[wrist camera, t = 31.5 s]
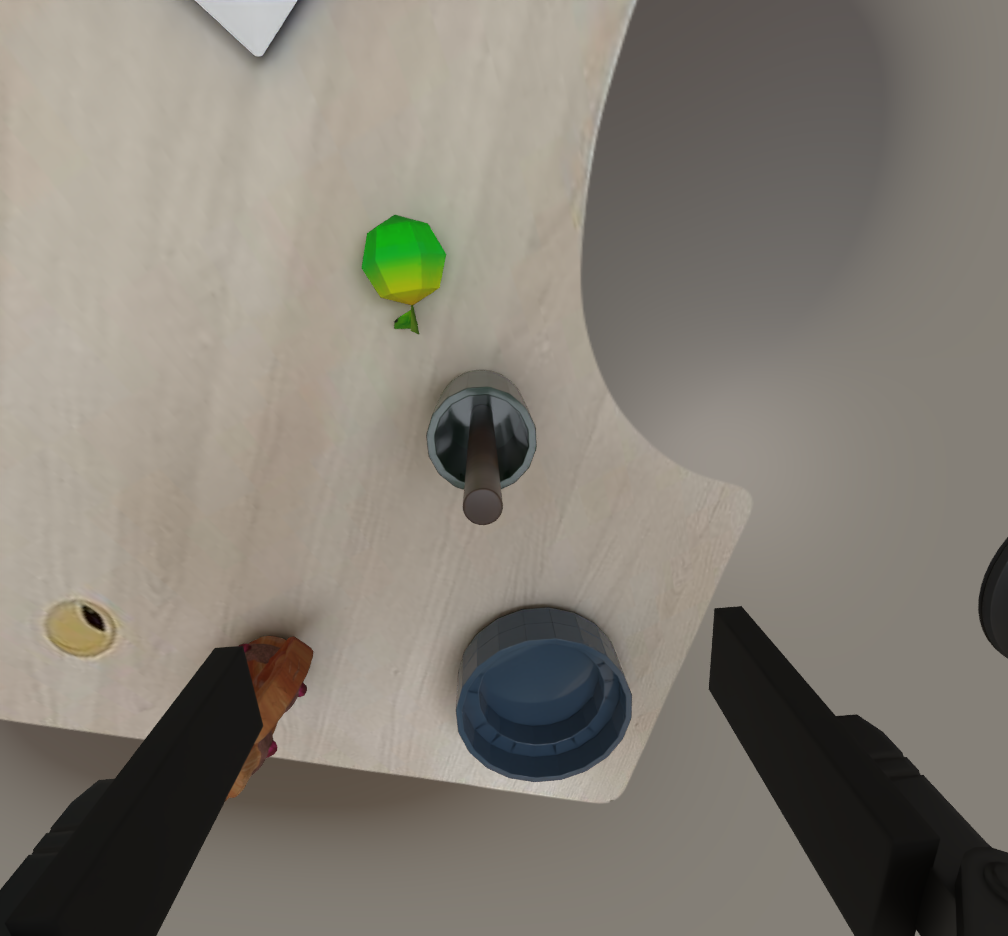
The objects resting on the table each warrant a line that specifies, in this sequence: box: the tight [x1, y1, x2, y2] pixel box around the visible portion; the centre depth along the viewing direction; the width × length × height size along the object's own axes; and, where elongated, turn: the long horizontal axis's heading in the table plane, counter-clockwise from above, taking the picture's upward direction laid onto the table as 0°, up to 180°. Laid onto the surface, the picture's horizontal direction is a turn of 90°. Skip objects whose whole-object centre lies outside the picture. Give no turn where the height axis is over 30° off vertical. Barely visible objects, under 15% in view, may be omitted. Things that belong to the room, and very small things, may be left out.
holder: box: [426, 370, 537, 490], centre depth 43 cm, size 8×8×10 cm
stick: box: [463, 405, 503, 525], centre depth 36 cm, size 2×2×22 cm
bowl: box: [456, 608, 632, 782], centre depth 54 cm, size 17×17×6 cm
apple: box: [362, 215, 446, 334], centre depth 41 cm, size 7×6×9 cm
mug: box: [225, 636, 313, 801], centre depth 47 cm, size 15×8×15 cm, turn 136°
